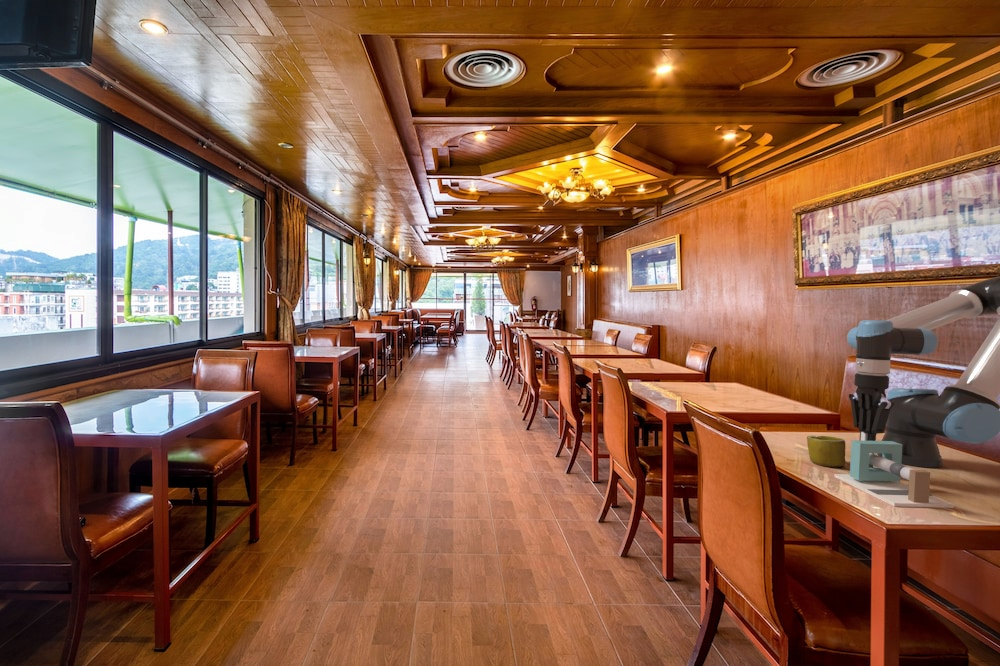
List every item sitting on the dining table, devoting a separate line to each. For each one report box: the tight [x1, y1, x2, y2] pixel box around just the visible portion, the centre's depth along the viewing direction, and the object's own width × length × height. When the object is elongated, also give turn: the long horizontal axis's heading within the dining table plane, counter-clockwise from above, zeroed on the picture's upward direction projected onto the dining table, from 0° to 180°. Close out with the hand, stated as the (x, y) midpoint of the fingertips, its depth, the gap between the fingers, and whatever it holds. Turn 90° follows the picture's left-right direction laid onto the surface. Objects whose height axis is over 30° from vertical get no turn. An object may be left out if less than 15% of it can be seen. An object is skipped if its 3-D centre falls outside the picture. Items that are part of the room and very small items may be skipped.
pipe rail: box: [833, 453, 955, 509], centre depth 112 cm, size 19×14×8 cm
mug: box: [806, 434, 846, 468], centre depth 134 cm, size 12×10×10 cm
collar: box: [849, 439, 902, 482], centre depth 116 cm, size 3×11×10 cm, turn 89°
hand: (866, 454), depth 124 cm, fingers closed
